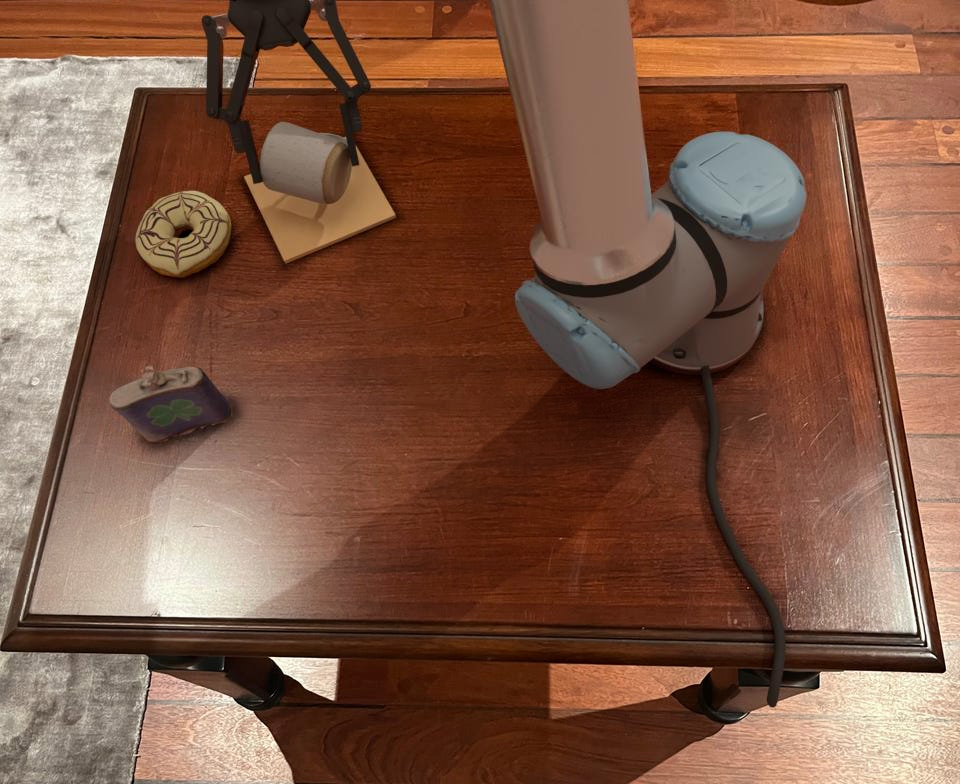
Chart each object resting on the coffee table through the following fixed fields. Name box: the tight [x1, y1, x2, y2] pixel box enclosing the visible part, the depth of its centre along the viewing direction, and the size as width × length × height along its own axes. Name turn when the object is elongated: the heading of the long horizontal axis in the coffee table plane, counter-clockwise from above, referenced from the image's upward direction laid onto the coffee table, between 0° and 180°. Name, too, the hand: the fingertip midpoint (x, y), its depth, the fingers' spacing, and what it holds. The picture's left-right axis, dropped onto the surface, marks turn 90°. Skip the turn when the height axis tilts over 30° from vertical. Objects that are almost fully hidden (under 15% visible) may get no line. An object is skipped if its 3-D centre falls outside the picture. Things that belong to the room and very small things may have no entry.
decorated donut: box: [135, 190, 232, 278], centre depth 92 cm, size 10×11×4 cm
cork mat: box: [243, 136, 397, 265], centre depth 95 cm, size 14×14×1 cm
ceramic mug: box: [259, 121, 352, 204], centre depth 89 cm, size 11×8×8 cm
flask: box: [108, 365, 234, 443], centre depth 79 cm, size 9×3×11 cm, turn 109°
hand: (307, 173), depth 88 cm, fingers closed on ceramic mug, 10 cm apart
